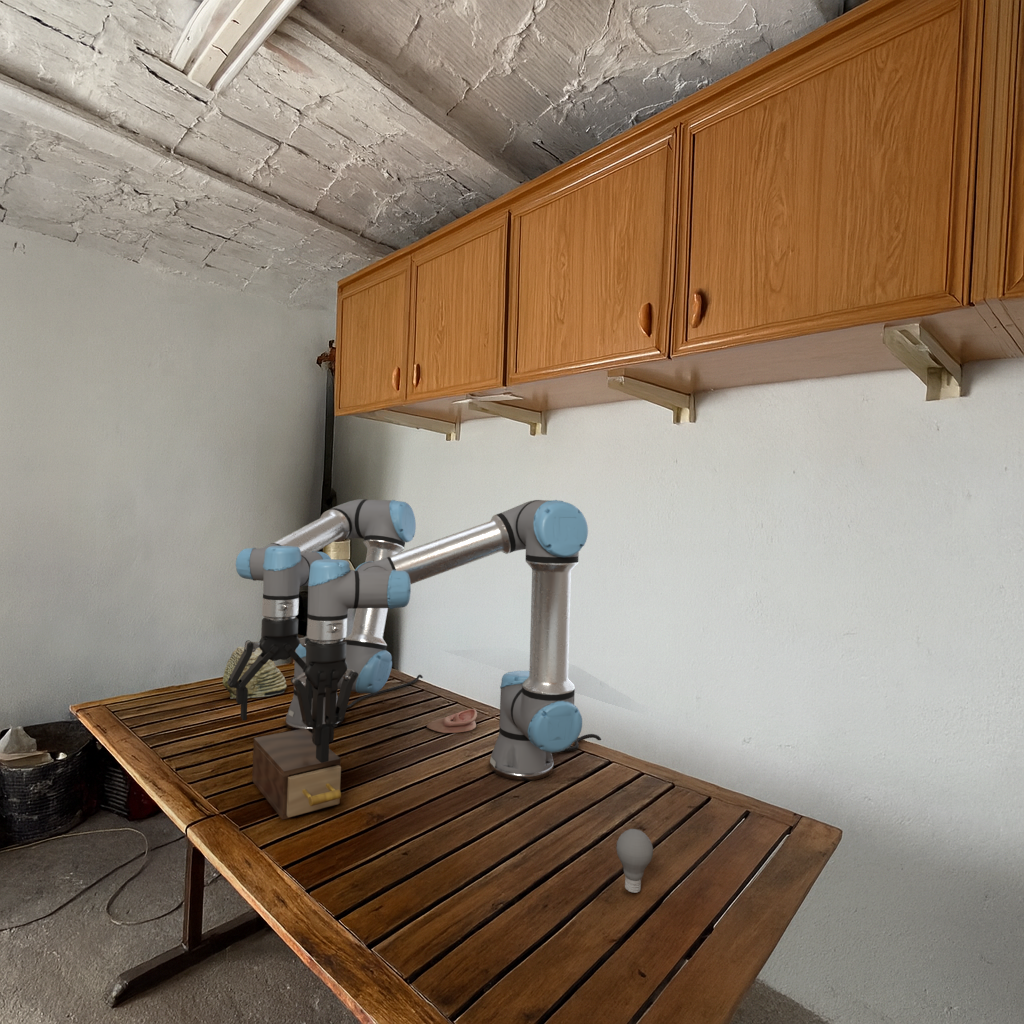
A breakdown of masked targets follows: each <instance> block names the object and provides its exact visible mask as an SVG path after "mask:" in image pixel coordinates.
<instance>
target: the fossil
mask: <svg viewBox="0 0 1024 1024" xmlns="http://www.w3.org/2000/svg"><path fill="white" fill-rule="evenodd" d="M244 647H245V646H238V647H237V648H236V649H235V650H233V651H232V653H231V656H230V657H229V659H228V660H227V663H226V666H225V668H224V671H223V675H222V676H223V677H222V685H223V687H224V688H225V690H226V691H228V693H229V698H230V699H236V688H231V687H230V686H229V685H228V683H227V681H228V679H229V677H230V675H231V674H232V672H233V670H234V668H235V666H236V664H237V663H238V661H239V659H240V657H241V655H242V653H243V652H244ZM261 653H262V650H261V649H260V648H259V647H258V648H257V649H256V650H255V652H252V655H251V657H250V659H249V661H248V663H247V665H246V666H245V668H244V670H243V672H242V674H241V676H240V677H239V679H240V678H241V677H242V676H243V675H244V673H245V672H246V671H247V670H248V669H249V668H250V666H251V665H252V664H253V663H254V662H255V661H256V659H257V658H258V656H259V655H260V654H261ZM239 679H238V680H239ZM287 687H288V686H287V680H286V678H285V676H284V674H283V673H282V672H281V669H279V668H278V667H277V665H276V663H275V661H272V660H268V661H267V663H266V664H264V665H263V666H262V667H261V669H260V670H259V671H258V672H257V673H256V674H255V676H254V677H253V678H252V679H251V680H250V681H249V683H248V684H247V685H246V688H247V689H248V699H250V698H264V697H271V696H275V695H281V694H284V693H285V691H286V689H287Z"/></svg>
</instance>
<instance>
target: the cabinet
mask: <svg viewBox="0 0 1024 1024" xmlns="http://www.w3.org/2000/svg"><path fill="white" fill-rule="evenodd" d="M252 749H253V751H252V773H251V775H252V777H251V781H252V783H253V784H254V785H255V787H256V788H257V789H258V790H259V792H260V793H261V794H262V796H263V797H264V798H265V800H266V801H267V802H268V803H269V805H270V806H271V807H272V808H273V810H274V811H275V812H276V814H277V815H278V816H279V818H280V819H281V820H287V819H290V818H294V817H297V816H301V815H305V814H309V813H312V812H313V813H314V812H316V811H319V810H324V809H327V808H330V807H334V806H338V805H339V804H336V805H332V806H329V807H325V808H321V809H318V810H314V811H310V812H307V813H303V814H299V815H296V816H292V817H288V816H287V791H288V777H289V775H293V774H297V773H301V772H306V771H310V770H314V769H319V768H323V767H327V766H331V767H333V766H337V765H339V766H340V767H341V760H342V759H341V757H340V756H339V755H337V754H336V753H335V752H334V751H332V750H331V748H329V761H327V762H323V763H321V762H320V761H319V760H317V759H316V745H315V744H314V743H313V742H312V732H310V731H308V730H307V729H306V728H304V729H299V730H288V731H283V732H278V733H273V734H267V735H262V736H256V737H253V748H252Z"/></svg>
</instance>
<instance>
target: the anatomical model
mask: <svg viewBox="0 0 1024 1024" xmlns="http://www.w3.org/2000/svg"><path fill="white" fill-rule="evenodd" d="M477 717H478V711H477V709H475V708H470V709H469V708H468V709H465V710H462V711H458V712H455V713H453V714H450V715H448V716H445V717H441V718H437V719H434V720H433V721H430V722H429V723H428V724H427V725H426V728H427V729H429V730H432V731H434V732H438V733H443V734H455V733H456V734H457V733H464V732H465V733H466V732H470V731H473V730H474V729H476V727H477V723H476V719H477Z"/></svg>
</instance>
